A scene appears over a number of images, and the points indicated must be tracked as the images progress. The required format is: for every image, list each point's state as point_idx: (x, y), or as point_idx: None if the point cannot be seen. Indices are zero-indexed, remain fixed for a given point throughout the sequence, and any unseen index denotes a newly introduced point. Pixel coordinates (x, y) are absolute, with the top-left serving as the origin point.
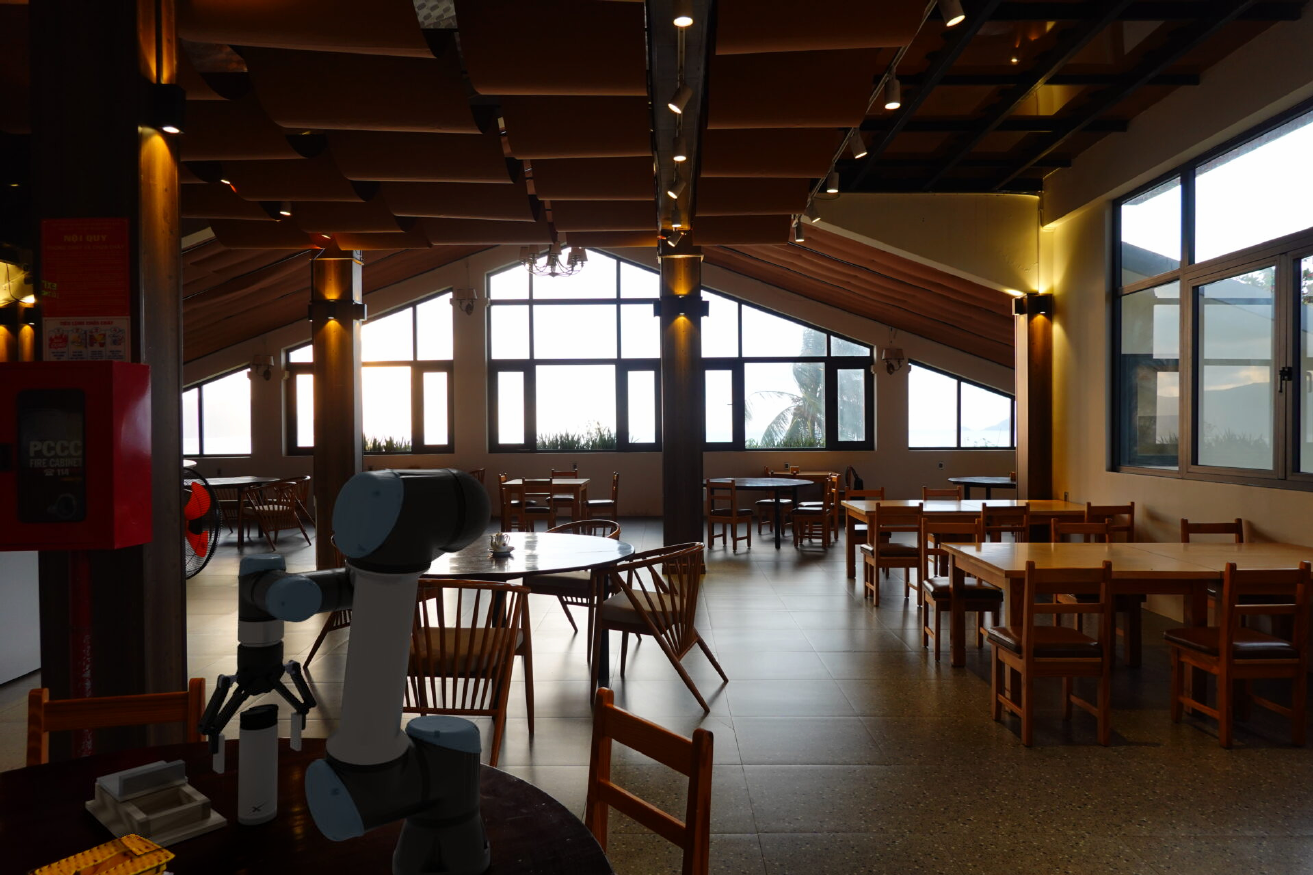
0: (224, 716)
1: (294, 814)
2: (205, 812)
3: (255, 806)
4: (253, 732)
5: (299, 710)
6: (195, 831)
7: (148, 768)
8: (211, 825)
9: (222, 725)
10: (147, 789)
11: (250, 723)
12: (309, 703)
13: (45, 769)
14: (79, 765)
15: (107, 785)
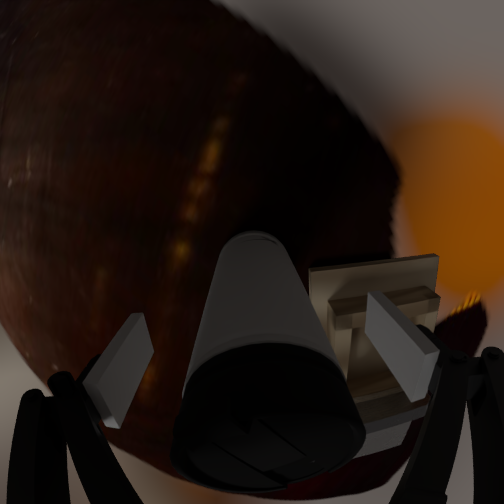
0: (463, 409)
1: (193, 228)
2: (340, 304)
3: (272, 242)
4: (318, 346)
5: (82, 400)
6: (364, 264)
7: (392, 425)
8: (338, 268)
9: (451, 380)
10: (391, 393)
11: (339, 383)
12: (40, 406)
13: (365, 488)
14: (344, 489)
15: (409, 423)
